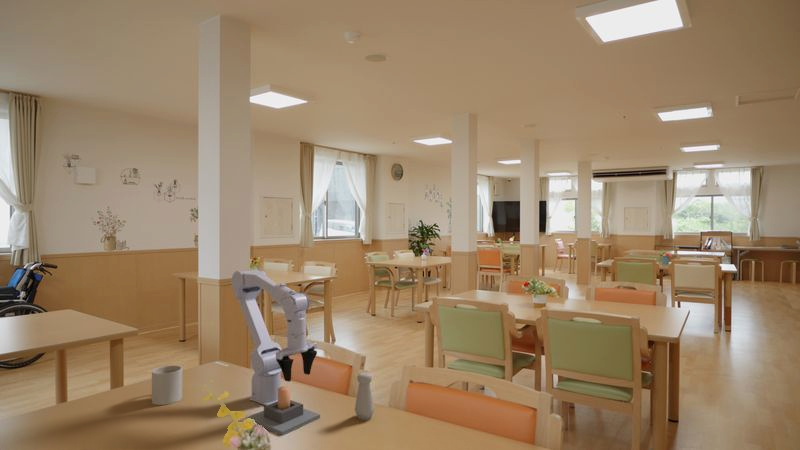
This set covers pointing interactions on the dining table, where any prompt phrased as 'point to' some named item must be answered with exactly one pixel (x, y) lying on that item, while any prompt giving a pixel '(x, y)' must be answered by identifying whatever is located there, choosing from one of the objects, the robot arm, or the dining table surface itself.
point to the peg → (283, 398)
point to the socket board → (284, 417)
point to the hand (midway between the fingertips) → (297, 377)
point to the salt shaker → (364, 397)
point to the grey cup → (166, 385)
